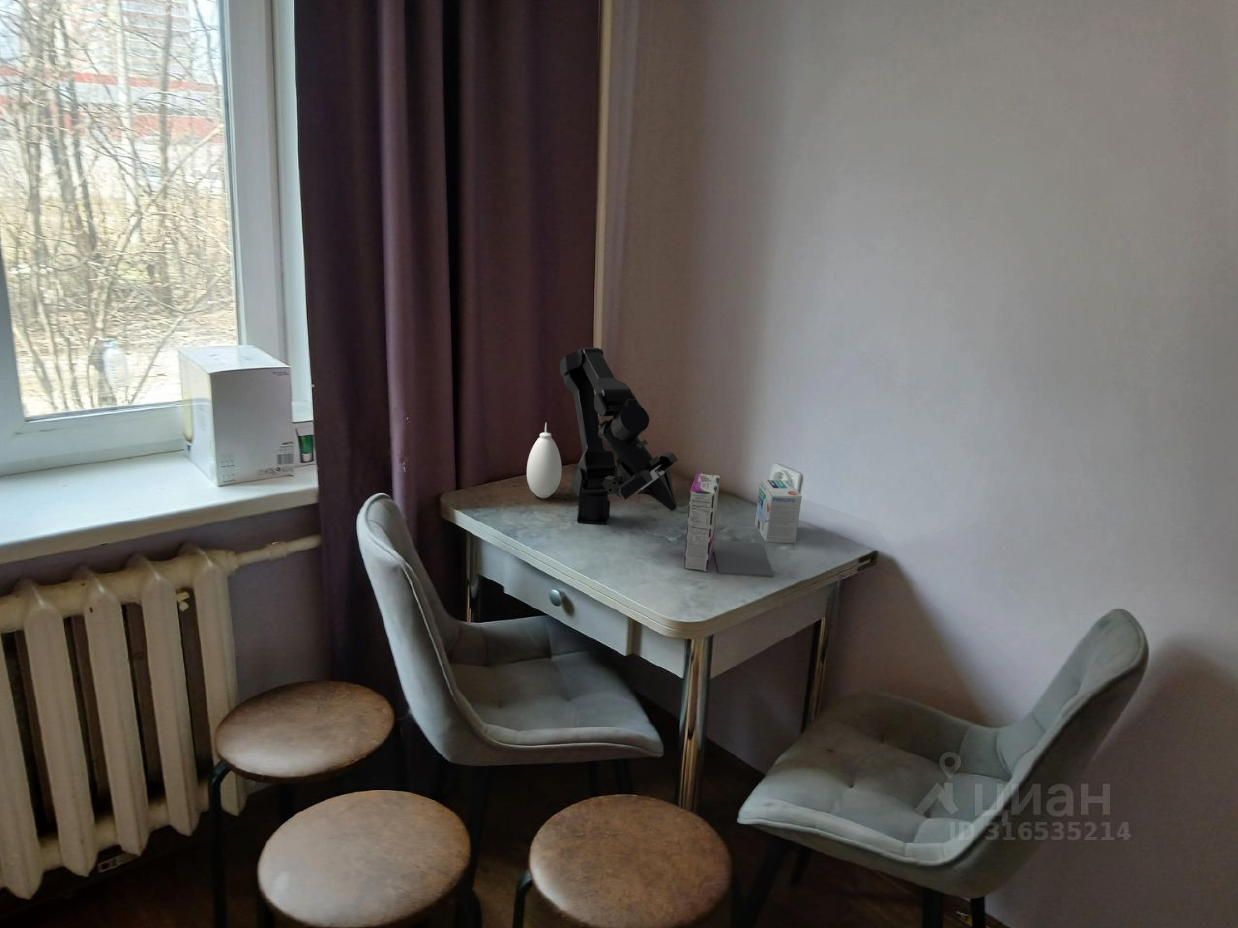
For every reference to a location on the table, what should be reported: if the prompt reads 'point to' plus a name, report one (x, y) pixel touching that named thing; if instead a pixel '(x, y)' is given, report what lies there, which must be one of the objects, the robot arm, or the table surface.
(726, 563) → the mat
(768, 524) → the light bulb box
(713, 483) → the candy bar box
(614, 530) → the table surface
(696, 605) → the table surface
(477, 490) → the table surface
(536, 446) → the white air blower bulb
